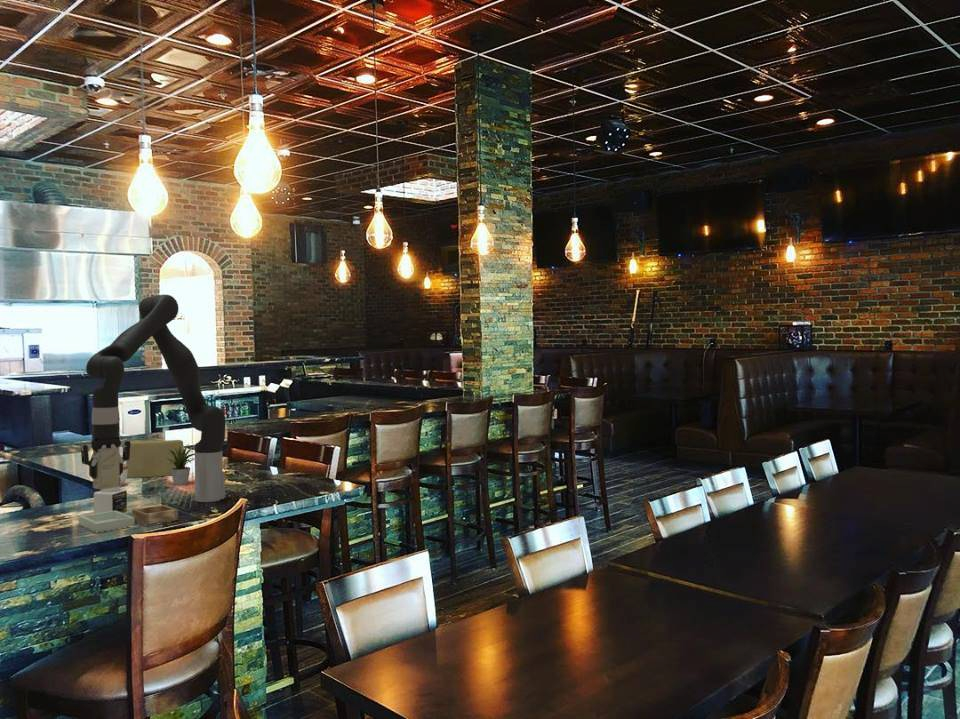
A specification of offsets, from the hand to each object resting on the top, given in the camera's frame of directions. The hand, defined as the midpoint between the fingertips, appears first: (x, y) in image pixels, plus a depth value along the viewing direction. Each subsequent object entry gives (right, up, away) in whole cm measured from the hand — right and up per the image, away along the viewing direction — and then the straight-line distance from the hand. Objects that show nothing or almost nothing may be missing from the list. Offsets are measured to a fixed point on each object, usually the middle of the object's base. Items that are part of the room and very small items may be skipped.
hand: (106, 476), depth 233 cm
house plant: (-4, -14, +67) cm, 69 cm away
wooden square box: (+12, -15, +7) cm, 20 cm away
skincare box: (0, -4, 0) cm, 4 cm away
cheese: (-21, -13, +86) cm, 90 cm away
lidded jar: (-29, -14, +64) cm, 72 cm away
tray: (0, -15, 0) cm, 15 cm away
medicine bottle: (-8, -15, +18) cm, 25 cm away
